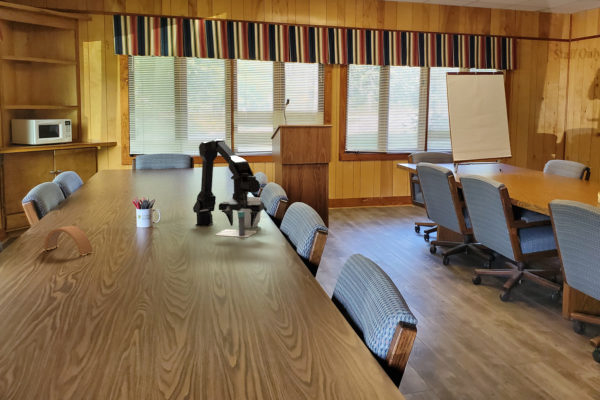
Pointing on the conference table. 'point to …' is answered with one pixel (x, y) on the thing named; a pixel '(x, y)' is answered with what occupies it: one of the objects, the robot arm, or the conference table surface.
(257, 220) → the mug
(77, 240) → the arch
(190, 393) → the conference table surface
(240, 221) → the marker
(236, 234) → the paper
